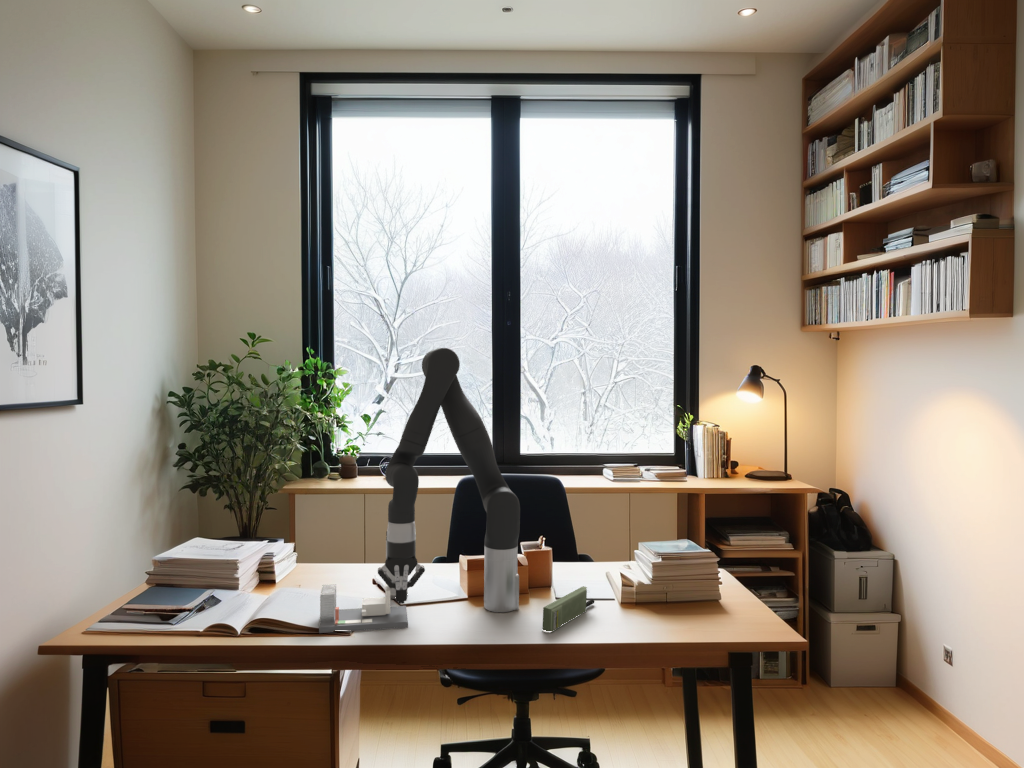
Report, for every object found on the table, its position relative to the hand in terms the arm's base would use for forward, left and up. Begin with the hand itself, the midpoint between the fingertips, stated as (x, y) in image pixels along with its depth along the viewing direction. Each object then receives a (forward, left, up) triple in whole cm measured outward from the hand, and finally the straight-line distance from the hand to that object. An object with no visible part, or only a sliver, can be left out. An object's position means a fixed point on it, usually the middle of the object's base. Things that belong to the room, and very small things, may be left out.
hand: (401, 602), depth 186 cm
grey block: (+19, 0, -3) cm, 19 cm away
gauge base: (+10, +2, -4) cm, 10 cm away
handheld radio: (-44, +8, -4) cm, 45 cm away
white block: (+7, +1, -2) cm, 7 cm away
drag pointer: (+16, +5, -2) cm, 17 cm away
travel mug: (+1, -18, -4) cm, 18 cm away
